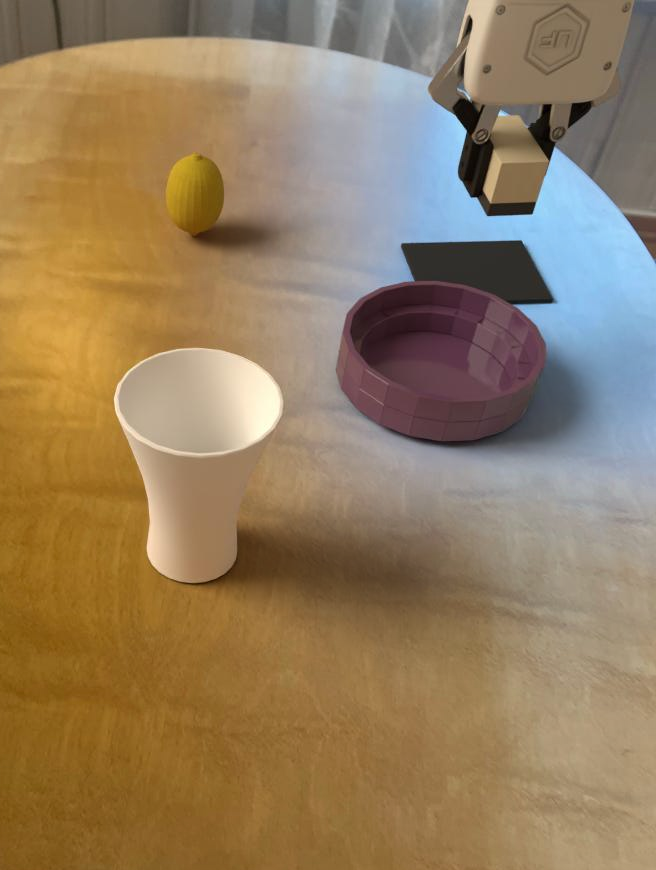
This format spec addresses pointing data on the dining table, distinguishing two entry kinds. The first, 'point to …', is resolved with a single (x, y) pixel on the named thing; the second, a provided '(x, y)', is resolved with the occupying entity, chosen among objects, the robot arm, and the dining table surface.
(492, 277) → the mat
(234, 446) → the cup
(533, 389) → the bowl
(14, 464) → the dining table surface
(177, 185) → the lemon
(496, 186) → the eraser
